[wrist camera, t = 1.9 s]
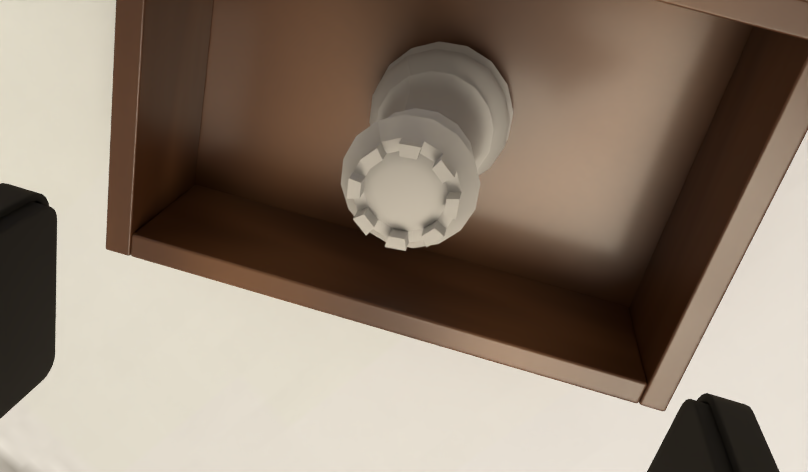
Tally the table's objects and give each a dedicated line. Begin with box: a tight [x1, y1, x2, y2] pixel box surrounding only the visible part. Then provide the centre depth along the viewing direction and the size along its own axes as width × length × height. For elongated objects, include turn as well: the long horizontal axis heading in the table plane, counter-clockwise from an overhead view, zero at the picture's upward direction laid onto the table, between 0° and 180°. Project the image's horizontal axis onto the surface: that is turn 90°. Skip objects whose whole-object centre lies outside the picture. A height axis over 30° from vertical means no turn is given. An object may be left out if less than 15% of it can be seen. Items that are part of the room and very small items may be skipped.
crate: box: [106, 0, 808, 411], centre depth 21 cm, size 18×12×5 cm, turn 77°
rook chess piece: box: [341, 42, 513, 251], centre depth 19 cm, size 4×4×8 cm
